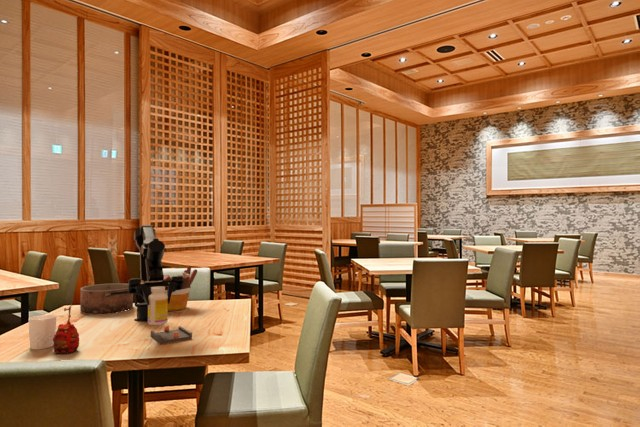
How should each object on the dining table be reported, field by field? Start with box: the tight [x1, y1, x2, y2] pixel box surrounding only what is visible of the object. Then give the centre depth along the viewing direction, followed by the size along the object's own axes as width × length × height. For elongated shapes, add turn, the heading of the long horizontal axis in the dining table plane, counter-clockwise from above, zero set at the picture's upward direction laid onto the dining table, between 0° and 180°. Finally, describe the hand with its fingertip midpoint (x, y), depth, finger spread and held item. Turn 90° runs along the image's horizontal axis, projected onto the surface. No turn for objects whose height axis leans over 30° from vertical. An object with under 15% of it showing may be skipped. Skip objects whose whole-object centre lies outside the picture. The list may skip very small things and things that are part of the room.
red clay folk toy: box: [52, 303, 80, 355], centre depth 136 cm, size 8×7×15 cm
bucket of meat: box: [163, 265, 198, 312], centre depth 201 cm, size 20×16×20 cm
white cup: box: [28, 313, 57, 351], centre depth 141 cm, size 8×8×10 cm
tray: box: [150, 325, 193, 345], centre depth 152 cm, size 12×11×3 cm
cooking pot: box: [79, 282, 134, 315], centre depth 199 cm, size 30×22×11 cm
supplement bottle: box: [147, 286, 169, 326], centre depth 149 cm, size 7×7×13 cm
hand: (158, 303), depth 148 cm, fingers closed on supplement bottle, 7 cm apart
